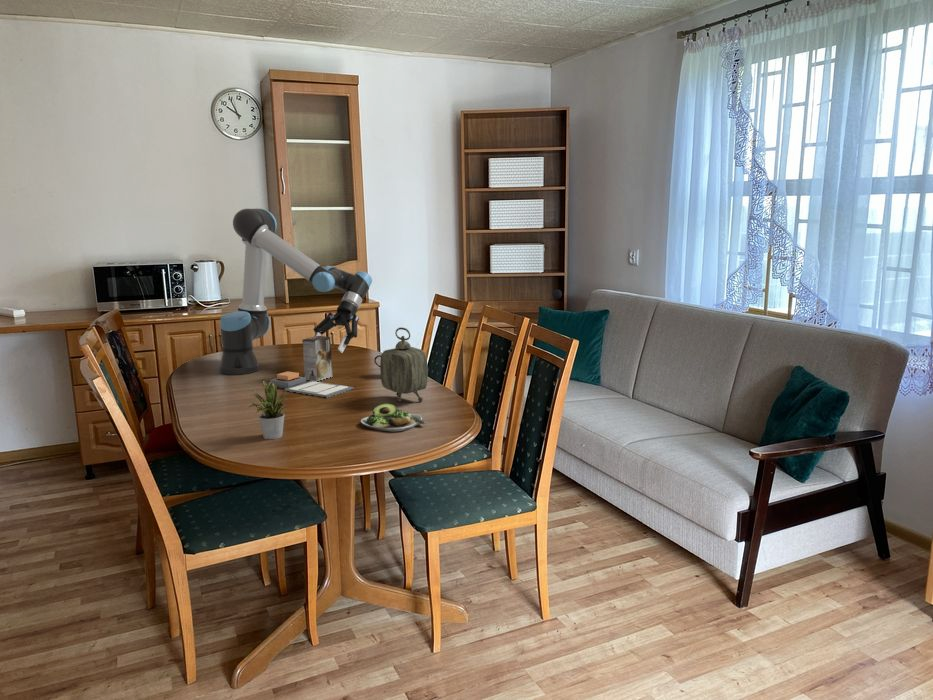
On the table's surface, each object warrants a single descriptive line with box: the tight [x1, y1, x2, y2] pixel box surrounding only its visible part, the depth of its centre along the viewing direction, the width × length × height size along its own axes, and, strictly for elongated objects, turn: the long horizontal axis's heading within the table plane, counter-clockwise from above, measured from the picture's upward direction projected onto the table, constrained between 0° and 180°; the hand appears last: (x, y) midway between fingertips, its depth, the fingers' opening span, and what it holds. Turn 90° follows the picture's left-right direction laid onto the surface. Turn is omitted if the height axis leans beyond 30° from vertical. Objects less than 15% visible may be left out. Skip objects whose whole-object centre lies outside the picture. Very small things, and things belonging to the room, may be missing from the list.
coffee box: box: [302, 335, 333, 382], centre depth 262 cm, size 9×6×16 cm
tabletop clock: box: [379, 327, 429, 403], centre depth 229 cm, size 14×9×25 cm, turn 48°
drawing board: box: [284, 381, 354, 399], centre depth 246 cm, size 20×14×1 cm
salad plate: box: [359, 403, 427, 433], centre depth 206 cm, size 19×18×5 cm
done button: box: [276, 371, 300, 380], centre depth 253 cm, size 6×6×2 cm
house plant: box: [246, 380, 291, 440], centre depth 194 cm, size 14×14×16 cm
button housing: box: [269, 376, 307, 389], centre depth 253 cm, size 9×9×2 cm
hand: (326, 349), depth 263 cm, fingers open, 13 cm apart
